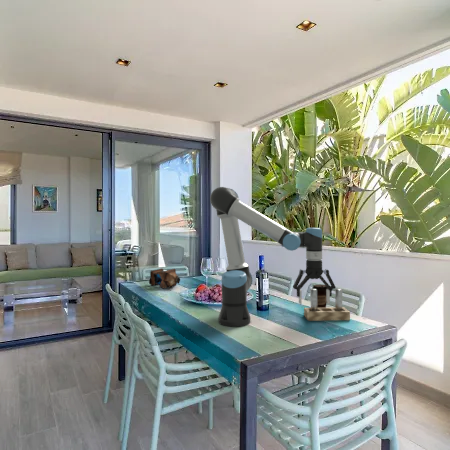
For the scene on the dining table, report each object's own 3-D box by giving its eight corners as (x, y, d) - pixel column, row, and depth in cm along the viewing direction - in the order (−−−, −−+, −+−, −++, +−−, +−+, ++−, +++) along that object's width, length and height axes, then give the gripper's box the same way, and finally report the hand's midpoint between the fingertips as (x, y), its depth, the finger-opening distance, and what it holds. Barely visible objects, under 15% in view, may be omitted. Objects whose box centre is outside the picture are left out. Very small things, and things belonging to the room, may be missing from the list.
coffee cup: (329, 312, 177) (329, 287, 177) (312, 311, 179) (312, 286, 178) (327, 308, 186) (327, 283, 185) (311, 307, 187) (311, 283, 187)
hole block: (308, 320, 164) (308, 312, 164) (304, 315, 172) (304, 307, 172) (350, 320, 164) (350, 311, 164) (344, 315, 172) (344, 307, 172)
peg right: (336, 318, 167) (336, 290, 166) (334, 316, 170) (334, 288, 169) (343, 318, 167) (343, 289, 166) (340, 316, 170) (340, 288, 169)
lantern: (155, 293, 251) (179, 296, 235) (142, 278, 243) (166, 281, 227) (167, 276, 261) (191, 278, 245) (155, 261, 253) (179, 262, 237)
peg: (311, 319, 166) (311, 290, 166) (310, 317, 170) (309, 288, 169) (318, 318, 166) (317, 290, 166) (316, 316, 170) (315, 288, 169)
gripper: (289, 260, 163) (290, 305, 164) (342, 260, 163) (342, 304, 164) (286, 258, 171) (287, 301, 171) (337, 258, 171) (337, 300, 172)
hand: (314, 303), depth 168 cm, fingers open, 13 cm apart
